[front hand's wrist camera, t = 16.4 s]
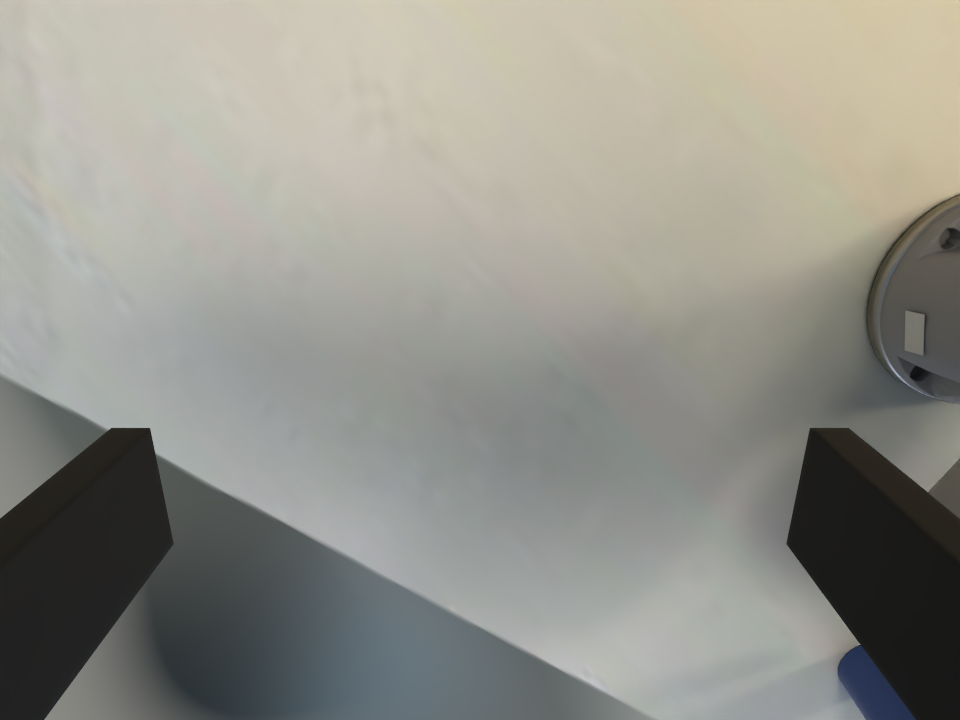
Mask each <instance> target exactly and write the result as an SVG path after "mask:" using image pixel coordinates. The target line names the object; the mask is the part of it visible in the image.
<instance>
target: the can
mask: <svg viewBox="0 0 960 720" xmlns="http://www.w3.org/2000/svg"><path fill="white" fill-rule="evenodd" d="M838 676H839V679H840V680H841V682H842V684H843V685H844V687H845V688H846V690H847V691H848V693H849V694H850V696H851V697H852V699H853V700H854V702H855V704H856V705H857V707H858V708H859V710H860V711H861V713H862V714H863V716H864V717H865V719H866V720H916V719H915V718H914V716H913V715H912V714H911V712H910V711H909V710H908V708H907V707H906V706H905V704H904V703H903V701H902V700H901V699H900V697H899V696H898V695H897V693H896V692H895V691H894V689H893V688H892V687H891V685H890V684H889V682H888V681H887V680H886V678H885V677H884V676H883V674H882V673H881V672H880V670H879V669H878V668H877V666H876V665H875V663H874V662H873V661H872V659H871V658H870V657H869V655H868V654H867V653H866V651H865V650H864V649H863V647H862V646H861V645H860V646H858V647H856V648H854V649H853V650H851V651H850V652H848V653H847V654H846V655H845V656H844V657H843V659H842V660H841V662H840V664H839V667H838Z"/></svg>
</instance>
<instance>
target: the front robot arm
mask: <svg viewBox="0 0 960 720" xmlns="http://www.w3.org/2000/svg"><path fill="white" fill-rule="evenodd" d="M868 331H869V336H870V340H871V343H872V346H873V349H874V351H875V353H876V355H877V357H878V358H879V360H880V362H881V363H882V364H883V366H884V367H885V368H886V369H887V370H888V371H889V372H890V373H891V374H892V375H893V376H894V377H896V378H897V379H898V380H900V381H901V382H903V383H905V384H906V385H908V386H910V387H911V388H913V389H915V390H916V391H918V392H920V393H922V394H924V395H927V396H929V397H933V398H936V399H939V400H942V401H945V402H950V403H956V404H960V195H959V196H956V197H954V198H952V199H950V200H948V201H946V202H944V203H942V204H941V205H939V206H937V207H936V208H934V209H933V210H931V211H930V212H928V213H927V214H925V215H924V216H923V217H922V218H920V219H919V220H918V221H917V222H916V223H914V224H913V225H912V226H911V227H910V228H909V229H908V230H907V231H906V232H905V233H904V234H903V236H902V237H901V238H900V239H899V240H898V241H897V243H896V244H895V245H894V246H893V248H892V249H891V250H890V252H889V254H888V255H887V257H886V258H885V260H884V262H883V263H882V265H881V267H880V269H879V271H878V274H877V276H876V278H875V281H874V284H873V287H872V290H871V294H870V298H869V305H868ZM172 545H173V539H172V534H171V529H170V524H169V519H168V514H167V509H166V504H165V500H164V495H163V490H162V485H161V480H160V475H159V470H158V465H157V460H156V455H155V450H154V445H153V441H152V436H151V431H150V428H111V429H110V430H108V431H107V432H106V433H105V434H104V435H102V436H101V437H100V438H99V439H97V440H96V441H95V442H94V443H93V444H91V445H90V446H89V447H88V448H86V449H85V450H84V451H83V452H81V453H80V454H79V455H78V456H77V457H75V458H74V459H73V460H72V461H70V462H69V463H68V464H67V465H65V466H64V467H63V468H62V469H61V470H59V471H58V472H57V473H56V474H55V475H53V476H52V477H51V478H50V479H48V480H47V481H46V482H45V483H43V484H42V485H41V486H40V487H38V488H37V489H36V490H35V491H34V492H32V493H31V494H30V495H29V496H27V497H26V498H25V499H24V500H23V501H21V502H20V503H19V504H18V505H16V506H15V507H14V508H13V509H11V510H10V511H9V512H8V513H7V514H5V515H4V516H3V517H2V518H0V720H44V719H45V718H46V716H47V715H48V714H49V712H50V711H51V710H52V708H53V707H54V706H55V704H56V703H57V701H58V700H59V699H60V697H61V696H62V695H63V693H64V692H65V690H66V689H67V688H68V687H69V685H70V684H71V682H72V681H73V680H74V678H75V677H76V676H77V674H78V673H79V672H80V670H81V669H82V668H83V666H84V665H85V663H86V662H87V661H88V659H89V658H90V657H91V655H92V654H93V653H94V651H95V650H96V649H97V647H98V646H99V644H100V643H101V642H102V640H103V639H104V638H105V636H106V635H107V634H108V632H109V631H110V630H111V628H112V627H113V625H114V624H115V623H116V621H117V620H118V619H119V617H120V616H121V615H122V613H123V612H124V611H125V609H126V608H127V606H128V605H129V604H130V602H131V601H132V600H133V598H134V597H135V596H136V594H137V593H138V591H139V590H140V589H141V587H142V586H143V585H144V583H145V582H146V581H147V579H148V578H149V577H150V575H151V574H152V573H153V571H154V570H155V568H156V567H157V566H158V564H159V563H160V562H161V560H162V559H163V558H164V556H165V555H166V553H167V552H168V551H169V549H170V548H171V547H172ZM787 545H788V547H789V548H790V549H791V551H792V552H793V553H794V555H795V556H796V558H797V559H798V560H799V562H800V563H801V564H802V566H803V567H804V568H805V570H806V571H807V573H808V574H809V575H810V577H811V578H812V579H813V581H814V582H815V583H816V585H817V586H818V587H819V589H820V590H821V592H822V593H823V594H824V596H825V597H826V598H827V600H828V601H829V602H830V604H831V605H832V606H833V608H834V609H835V611H836V612H837V613H838V615H839V616H840V617H841V619H842V620H843V621H844V623H845V624H846V625H847V627H848V628H849V630H850V631H851V632H852V634H853V635H854V636H855V638H856V639H857V640H858V642H859V643H860V644H861V646H862V647H863V649H864V650H865V651H866V653H867V654H868V655H869V657H870V658H871V659H872V661H873V662H874V663H875V665H876V666H877V668H878V669H879V670H880V672H881V673H882V674H883V676H884V677H885V678H886V680H887V681H888V682H889V684H890V685H891V687H892V688H893V689H894V691H895V692H896V693H897V695H898V696H899V697H900V699H901V700H902V701H903V703H904V704H905V706H906V707H907V708H908V710H909V711H910V712H911V714H912V715H913V716H914V718H915V719H916V720H960V459H959V460H958V461H957V462H956V463H955V464H954V466H953V467H952V468H951V469H950V470H949V471H948V472H947V473H946V474H945V475H944V476H943V477H942V478H941V479H940V480H939V481H938V482H937V483H936V484H935V485H934V486H933V488H932V489H931V490H930V491H929V492H926V491H925V490H924V489H923V488H922V487H920V486H919V485H918V484H917V483H915V482H914V481H913V480H912V479H910V478H909V477H908V476H907V475H906V474H904V473H903V472H902V471H901V470H899V469H898V468H897V467H896V466H895V465H893V464H892V463H891V462H890V461H888V460H887V459H886V458H885V457H883V456H882V455H881V454H880V453H879V452H877V451H876V450H875V449H874V448H872V447H871V446H870V445H869V444H868V443H866V442H865V441H864V440H863V439H861V438H860V437H859V436H858V435H856V434H855V433H854V432H853V431H852V430H850V429H849V428H810V431H809V436H808V441H807V445H806V450H805V455H804V460H803V465H802V470H801V475H800V480H799V485H798V490H797V495H796V499H795V504H794V509H793V514H792V519H791V524H790V529H789V534H788V539H787Z"/></svg>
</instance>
